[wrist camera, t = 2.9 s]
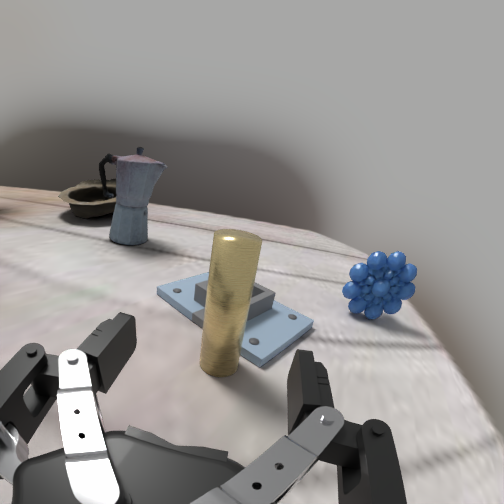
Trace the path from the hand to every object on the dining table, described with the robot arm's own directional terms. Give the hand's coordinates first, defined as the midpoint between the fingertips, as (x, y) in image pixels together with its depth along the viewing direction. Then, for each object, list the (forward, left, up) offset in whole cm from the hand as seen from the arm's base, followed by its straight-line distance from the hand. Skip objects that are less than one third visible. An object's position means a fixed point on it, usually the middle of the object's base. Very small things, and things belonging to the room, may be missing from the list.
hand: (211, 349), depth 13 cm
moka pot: (-46, +19, -12) cm, 52 cm away
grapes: (+2, +35, -12) cm, 37 cm away
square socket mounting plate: (-13, +18, -12) cm, 26 cm away
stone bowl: (-70, +21, -12) cm, 75 cm away
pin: (-7, +9, -12) cm, 17 cm away
